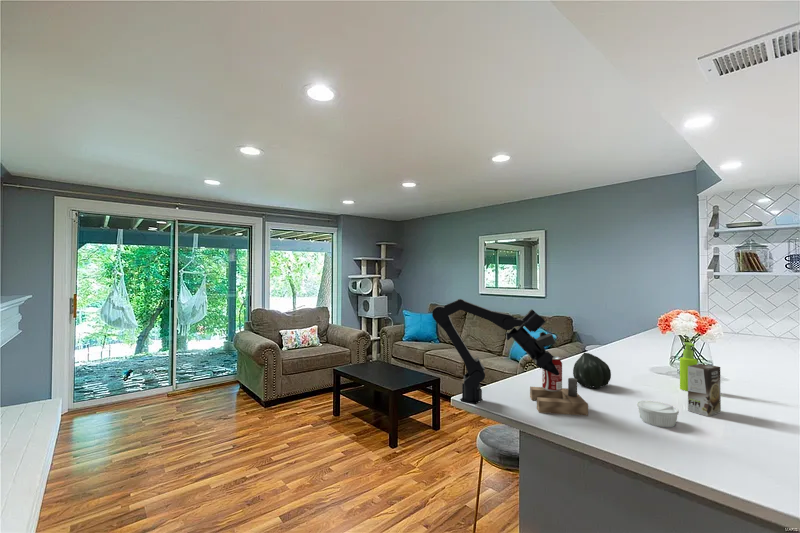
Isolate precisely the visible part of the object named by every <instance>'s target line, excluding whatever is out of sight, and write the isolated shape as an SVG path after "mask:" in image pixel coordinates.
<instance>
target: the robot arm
mask: <svg viewBox="0 0 800 533" xmlns="http://www.w3.org/2000/svg"><path fill="white" fill-rule="evenodd" d="M459 311H463V312H466V313H468V314H471V315H474V316H476V317H479V318H482V319H484V320H488V321H490V322H492V323H493V324H494V325H496V326H497V327H499V328H501V329H502V330H504V331H505V340H506V341H509V340H510V339H513V341H515V343H516V344H518V345H519V347H520V348H522V350H523V351H524V352H525V353H526V354H527V355H528V357H529V358H530V359H532V361H534V363H535V365H536V366H537V367H538V368H539V369H544V370H547V371H549V372H551V373H553V374H555V375H559V372H558V370H557V369H556V367H555V366H554V364H553V362H552V359H553V356H554V355H553V354H552V353H551V352H549V351H548V350H546V347H547V346H551V345H555V344H556V343H557V342H556V340H555V338H554V335H553V334H551V333H546V332H544V331H542V332H540V333H539V336H538V337H536V338H535V337H534V336H532V335H531V334H530V333H531V332H534V333H536V331H538V330H539V329H540V328H541V327H542V326H543V325H544V324H546V320H545V319H544V318H543V317H542V316H541V315H539V314H538V313H537V312H536V311H535V310H534V309H532V308H531V309H530V310H529V311H528V312H527V314H525V315H524V316H523V317H522V318H520V317H514V316H513V315H511V314H510V313H508V312H503V311H502V312H501V311H496V310H495V311H494V310H491V309H487V308H485V307H482V306H479V305H477V304H474V303H471V302H468V301H466V300H464V299H462V298H458V299H456V300H455V301H452V302H450V303H447V304H445V305H437V306H435V307H434V309H433V310H432V314H431V315H432V319H433V320H434V321H435V322H436V323H437V324H438V325H439V327H441V329H443V331H445V332H444V333H446V336H448V338H449V340H450V341H451V343H452V344H453V347H454V348H455V349H456V351H457V352H458V354H459V356H460V357H461V358H460V359H462V361H463V363H464V366H465V368H466V371H467V372H466V373H465V374H464V375H463V383H462V384H461V385H462V386H461V388H462V390H461V393H462V394H461V396H462V397H461V398H460V399H459V400H461V402H465V403H469V404H472V405H476V404H478V403H480V402H481V401H483V400H484V399H483V394H482V393H483V392H482V391H483V390H482V388H481V386H482V385H481V383H483V381H484V379H485V378H486V372H485V371H486V369H485V365H484V364H483V363H482V362H481V360H480V358H479V356H477V357H476V358H475V357H474V355H472V353H471V352H470V350H469V348H468V347H467V346H466V343H465V342H464V341H463V339H462V337H461V335H460V334H459V332H458V331H457V329H456V327H455V326H454V324H453V322H452V318H451V315H453V314H455V313H457V312H459ZM524 327H525V328H524ZM527 330H528V331H529V332H528V331H527Z"/></svg>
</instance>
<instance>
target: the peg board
mask: <svg viewBox="0 0 800 533" xmlns="http://www.w3.org/2000/svg"><path fill="white" fill-rule="evenodd" d="M567 380H568V381H567V384H568V385H567V387H568V388H566V387H565V388H563V387H562V390H561V391H559V392H550V391H547V390H545V389H544V388H543V387H542V386H530V387H529V397H530V399H531V400H532V401H536V409H537V410H536V411H537V412H538V413H541V414H558V415H571V416H572V415H573V416H575V415H576V416H587V417H588V416H589V404H588V402H587V401H586V400H584V397H583V398H582V396H580V394H578V382H577V379H575V378H574V377H568V378H567Z"/></svg>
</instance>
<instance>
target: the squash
mask: <svg viewBox="0 0 800 533" xmlns="http://www.w3.org/2000/svg"><path fill="white" fill-rule="evenodd" d="M611 371H612V370H611V368H610V366H609V365H608V364H607V363H606V361H604V360H602V359H601V358H600V357H598V356H596V355H593V354H592V353H589V352H583V353H582V354H581V355H580V357H579V358H578V359H577V360H576V361H575V363H574V364H573V369H572V375H573V378H575V379H577V384H579V385H581V386H583V387H586V388H589V389H592V388H595V389H600V388H601V387H605V386H607V385H608V384H609V382H611V379H612V372H611Z"/></svg>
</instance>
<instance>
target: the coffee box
mask: <svg viewBox="0 0 800 533" xmlns="http://www.w3.org/2000/svg"><path fill="white" fill-rule="evenodd" d="M721 401H722V400H721V367H720V366H716V365H712V364H705V363H703V364H702V363H697V364H696V365H691V366H688V391H687V411H688V412H692V413H695V414H699V415H701V416H704V417H711V416H714V415H717V414H720V413H721V412H722V407H721V406H722V404H721V403H722V402H721Z"/></svg>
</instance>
